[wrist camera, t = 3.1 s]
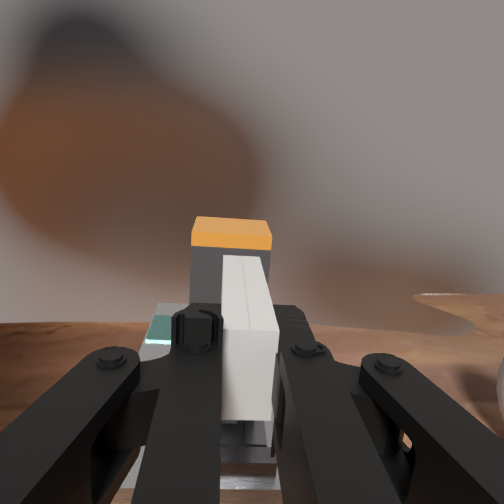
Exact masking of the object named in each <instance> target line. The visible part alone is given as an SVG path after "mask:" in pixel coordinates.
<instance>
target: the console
mask: <svg viewBox="0 0 504 504" xmlns="http://www.w3.org/2000/svg"><path fill="white" fill-rule="evenodd" d="M188 305H189V304H177V303H158V305H157V308H156V310H155V313H154V315H153V318H152V320H151V323H150V325H149V328H148V330H147V333H146V335H145V338H144V340H143V343H142V346H141V348H140V351H139V353H138V354H139V357H140V362H141V361H148V360H153V359H157V358H160V357H163V356H165V355H167V354H169V352H170V348H171V317H172V316H173V315H174V313H176V312H178V311H180V310H183V309H185V308H186V307H187V306H188ZM273 423H274V412H273V406H272V415H271V421H259V420H237V424H225V423H221V460H220V504H283V501H282V494H281V487H280V481H279V474H278V467H277V460H276V454H275V456H274V458H273V457H270V454H271V443H272V433H273ZM144 449H145V446H141V450H140V453H139V456H138V458H137V460H136V461H135V463H134V465H133V467H132V468H131V470H130V472H129V473H128V475H127V477H126V478H125V480H124V482H123V483H122V485H121V487H120V488H119V490H118V492H117V493H116V495H115V497H114V498H113V500H112V502H111V503H110V504H131V500H132V496H133V492H134V488H135V484H136V481H137V477H138V473H139V469H140V465H141V461H142V457H143V453H144Z"/></svg>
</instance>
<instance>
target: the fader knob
mask: <svg viewBox="0 0 504 504" xmlns="http://www.w3.org/2000/svg"><path fill="white" fill-rule="evenodd" d="M271 245H272V234H271V232H270V230H269V227H268V225H267V223H266V221H261V220H246V219H231V218H215V217H199V216H198V217H197V218H196V221H195V224H194V227H193V230H192V240H191V268H190V297H189V305H190V304H191V303H217V304H221V290H222V270H223V255H234V256H255V257H260V260H261V264H262V267H263V271H264V275H265V279H266V282H267V286H268V276H269V266H270V255H271ZM221 423H225V424H237V420H221Z"/></svg>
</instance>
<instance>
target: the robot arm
mask: <svg viewBox="0 0 504 504" xmlns="http://www.w3.org/2000/svg"><path fill="white" fill-rule="evenodd" d="M272 406H273V412H274V423H273V433H272V443H271V454H270V457H273V458H274V456H275V454H276V460H277V467H278V474H279V481H280V487H281V494H282V501H283V504H504V441H503V440H502V439H500V438H499V437H498V436H497V435H496V434H494V433H493V432H492V431H491V430H489V429H488V428H487V427H486V426H485V425H483V424H482V423H481V422H480V421H479V420H477V419H476V418H475V417H474V416H472V415H471V414H470V413H469V412H468V411H466V410H465V409H464V408H463V407H462V406H460V405H459V404H458V403H457V402H456V401H454V400H453V399H452V398H451V397H449V396H448V395H447V394H446V393H445V392H443V391H442V390H441V389H440V388H439V387H437V386H436V385H435V384H434V383H433V382H431V381H430V380H429V379H428V378H426V377H425V376H424V375H423V374H422V373H420V372H419V371H418V370H417V369H416V368H414V367H413V366H412V365H411V364H409V363H408V362H406V361H405V360H403V359H401V358H398V357H396V356H394V355H391V354H387V353H373V354H369V355H366V356H365V357H363V358H362V362H361V367H357V366H352V365H347V364H343V363H339V362H337V361H334V359H333V356H332V354H331V352H330V351H329V349H328V348H327V347H326V346H325V345H323V344H321V343H320V342H317V341H315V338H314V336H313V334H312V331H311V329H310V327H309V324H308V322H307V321H306V317H305V315H304V313H303V312H302V311H301V310H300V309H299V308H297V307H296V306H295V305H272V301H271V297H270V294H269V290H268V286H267V282H266V279H265V275H264V271H263V267H262V264H261V260H260V257H255V256H234V255H223V270H222V290H221V304H217V303H191V304H190V305H188V306H187V307H186V308H185V309H183V310H180V311H178V312H176V313H174V315H173V316H172V317H171V348H170V352H169V354H167V355H165V356H163V357H160V358H157V359H153V360H148V361H141V362H140V357H139V354H138V353H137V352H136V351H134V350H133V349H129V348H126V347H117V346H112V347H105V348H102V349H99V350H97V351H94V352H92V353H90V354H89V355H87V356H86V357H85V358H84V359H82V360H81V361H80V362H79V363H78V364H77V365H76V366H75V367H73V368H72V369H71V370H70V371H69V372H68V373H67V374H66V375H64V376H63V377H62V378H61V379H60V380H59V381H58V382H57V383H56V384H54V385H53V386H52V387H51V388H50V389H49V390H48V391H47V392H45V393H44V394H43V395H42V396H41V397H40V398H39V399H38V400H36V401H35V402H34V403H33V404H32V405H31V406H30V407H29V408H28V409H26V410H25V411H24V412H23V413H22V414H21V415H20V416H19V417H17V418H16V419H15V420H14V421H13V422H12V423H11V424H10V425H8V426H7V427H6V428H5V429H4V430H3V431H2V432H1V433H0V504H110V503H111V502H112V500H113V498H114V497H115V495H116V493H117V492H118V490H119V488H120V487H121V485H122V483H123V482H124V480H125V478H126V477H127V475H128V473H129V472H130V470H131V468H132V467H133V465H134V463H135V461H136V460H137V458H138V456H139V453H140V450H141V446H145V449H144V453H143V457H142V461H141V465H140V469H139V473H138V477H137V481H136V484H135V488H134V492H133V496H132V500H131V504H220V460H221V420H259V421H271V415H272ZM404 433H405V434H406V435H407V436H408V437H409V439H410V440H411V442H412V447H411V449H410V448H408V447H407V446H406V444H405V443H404V442H403V436H404Z"/></svg>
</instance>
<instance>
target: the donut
mask: <svg viewBox="0 0 504 504" xmlns="http://www.w3.org/2000/svg"><path fill="white" fill-rule="evenodd" d="M496 390H497V398H498V405H499V410H500V412H501V415H502V418H503V421H504V358H503V361H502V363H501V365H500V367H499V371H498V379H497V387H496Z"/></svg>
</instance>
